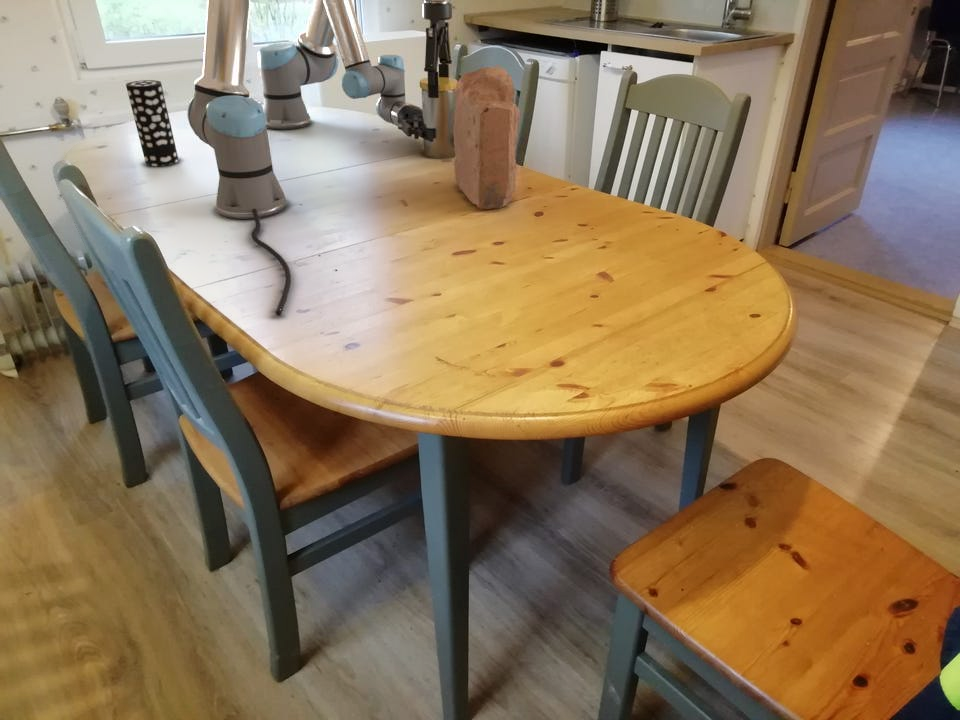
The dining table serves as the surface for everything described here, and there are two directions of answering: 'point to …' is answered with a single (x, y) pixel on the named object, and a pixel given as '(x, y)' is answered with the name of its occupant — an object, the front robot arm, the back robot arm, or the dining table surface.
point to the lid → (440, 83)
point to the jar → (439, 123)
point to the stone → (485, 137)
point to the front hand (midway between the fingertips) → (438, 93)
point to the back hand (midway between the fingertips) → (447, 134)
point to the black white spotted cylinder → (152, 122)
